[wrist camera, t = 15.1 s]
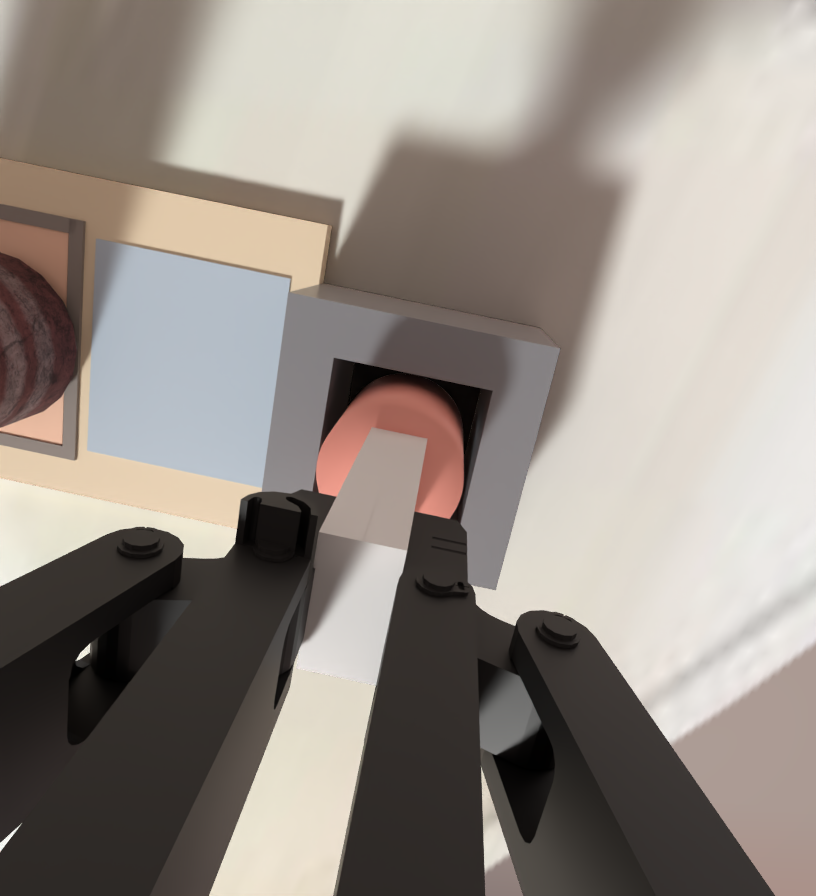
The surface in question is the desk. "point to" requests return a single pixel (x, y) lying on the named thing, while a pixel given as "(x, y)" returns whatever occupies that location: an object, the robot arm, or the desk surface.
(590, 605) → the desk surface
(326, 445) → the button
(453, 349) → the button housing
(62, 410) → the board
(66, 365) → the can
